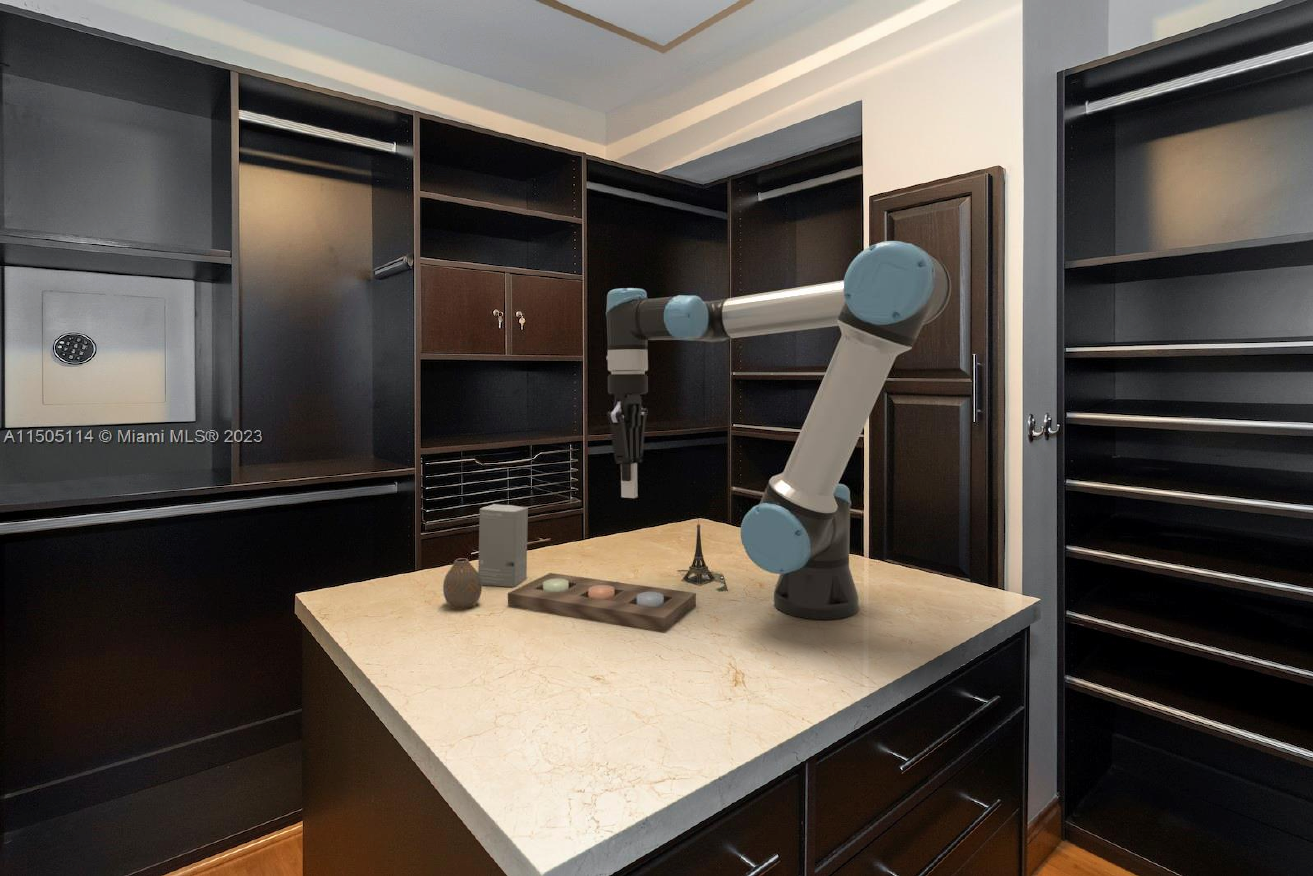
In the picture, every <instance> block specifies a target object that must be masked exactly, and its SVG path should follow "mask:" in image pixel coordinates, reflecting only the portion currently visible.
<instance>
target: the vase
mask: <svg viewBox="0 0 1313 876" xmlns="http://www.w3.org/2000/svg"><path fill="white" fill-rule="evenodd" d="M482 588H483V585H482V584H481V579H480V576H479V574H478V571H477V570H476V568H474V566H473V565H472V564H471V561H470V560H469V559H468V558H466V557H465V558H463V557H462V558H457V559H455V560H454V562H453V564H452V565H451V568H450V569H449V570H448V572H447V573H446V575H445V577H444V580H443V585H442V589H443V597H444V599H445V601H446V603H447V604H448V605H449V606H450V607H451V608H453V609H455V610H464V609H470V608H472V607H474V606H475V605H476V603H478V602H479V600H480V598H481V595H482V590H483V589H482Z"/></svg>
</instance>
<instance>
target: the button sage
mask: <svg viewBox="0 0 1313 876" xmlns="http://www.w3.org/2000/svg"><path fill="white" fill-rule="evenodd" d="M567 589H569V586H568V580H565V579H550V580H546V581H544V582H543V590H544V591H551V592H557V593H561V592H563V591H565V590H567Z"/></svg>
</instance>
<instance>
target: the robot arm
mask: <svg viewBox="0 0 1313 876" xmlns="http://www.w3.org/2000/svg"><path fill="white" fill-rule="evenodd" d="M951 294H952V281H951V276H950V273H949V271H948V269H947V268H946V266H945V264H943V262H942V261H940V259H938V258H937V257H935V256H933V255H932V254H930V253H928V252H927V251H925V250H924V249H922V247H919V246H916V245H914V244H913V243H908V242H903V241H898V240H887V241H881V242H878V243H876V244H872V245H870V246H868V247H867V248H865V249H864V250H862V251H860V253H858V254H857V256H856V257H854V259H853V260H852V261H851V262H850V264H849V266H848V268H847V270H846V272H845V275H844V277H843V280H836V281H832V282H825V283H817V284H812V285H805V286H799V287H793V288H787V289H780V290H775V291H768V292H761V293H756V294H755V293H754V294H749V295H748V294H747V295H743V296H736V297H730V298H725V299H724V298H723V299H718V300H710V301H706V300H705V301H704V300H703V299H702V297H700V296H698V295H683V294H679V295H676V296H667V297H657V298H648V296H647V295H648V293H647V291H646V290H645V289H643V288H637V287H635V288H634V287H627V288H624V287H623V288H614V289H612V290H610V291H608V293H607V295H606V312H605V317H606V333H607V348H606V350H607V355H606V357H605V358H606V361H607V371H609V372H610V374H608V376H607V393H608V394H609V395H614V400H613V402H614V403H613V408H614V409H613V410H612V411H607V414H606V415H607V416H606V417H607V419H608V422H609V428H610V434H611V442H612V449H613V457H614V458H613V459H614V462H615V464H620V479H621V480H620V486H621V487H620V491H621V492H620V495H621V496H620V497H621V498H626V499H627V498H628V499H636V498H638V463H642V462H643V457H644V456H643V454H644V445H645V443H644V442H645V431H646V422H647V416H648V413H649V410H648V408H647V407H646V408H643V405H642V403H643V402H642V396H641V395H646V394H647V393H648V391H649V384H648V383H649V381H648V380H649V376H647V375H648V374H645V373H646V372H648V370H649V360H648V359H649V358H648V355H649V353H648V341H659V340H660V341H661V340H662V341H663V340H664V341H671V340H673V341H676V340H678V341H693V342H694V341H696V342H697V341H700V342H707V343H720V342H723V341H726V340H730V339H737V338H744V337H745V338H746V337H753V336H755V337H756V336H761V335H762V336H763V335H770V334H777V333H778V334H779V333H786V332H795V331H796V332H798V331H804V330H813V329H821V328H829V327H839V330H840V332H841V336H840V339H839V341H838V343H837V345H836V348H835V350H834V353H833V355H832V357H831V360H830V362H829V364H828V366H827V370H826V371H825V374H824V377H823V378H822V380H821V384H820V385H819V388H818V390H817V393H816V395H815V397H814V399H813V401H812V404H811V406H810V409H809V412H808V414H807V416H806V419H805V420H804V423H803V425H802V427H801V429H800V432H799V434H798V437H797V439H796V441H795V443H794V447H793V448H792V451H791V452H790V453H791V454H790V455H789V458H788V459H787V462H786V465H785V468H784V470H783V472H781V473H779V474H776V475H773V476H772V477H770V479H769V480H768V483H767V485H766V488H765V490H764V492H763V495H762V497H761V499H760V502H759V504H757V505H756V504H755V505H754V506H753V507H751V509H749V510H748V512H747V513H746V514H745V515H744V517H743V519H742V522H741V524H740V525H741V526H740V540H741V544H742V545H743V548H744V550H745V553H746V555H747V557H748V558H749V559H750V560H751V561H752V563H754V564H755V565H756V566H757V567H758V568H760V569H761V570H763V571H766V572H768V573H770V574H775V575H779V576H778V579H777V581H776V584H775V587H774V591H773V605H774V607H775V608H776V609H778V610H779V611H780V612H781V613H785V614H787V615H790V616H793V617H798V618H801V619H802V618H804V619H812V620H836V619H843V618H847V617H851V616H852V615H855V614H856V613H857V612H858V611H859V594H858V591H857V588H856V584H855V582H854V578H853V575H852V572H851V569H850V534H851V533H850V531H851V529H850V528H851V506H852V501H851V491H850V488H849V487H848V486H847V485H845V484H843V483H839V482H840V480H841V479H842V476H843V474H844V472H845V470H846V467H847V466H848V462H849V460H850V458H851V456H852V454H853V452H854V450H855V447H856V446H857V443H858V440H859V438H860V437H861V434H862V433H863V430H864V428H865V426H866V423H867V421H868V419H869V417H870V415H871V413H872V410H873V408H874V406H875V404H876V401H877V399H878V397H879V395H880V393H881V390H882V388H883V386H884V384H885V382H886V379H887V378H888V375H889V373H890V371H891V369H892V367H893V365H894V362H895V360H896V358H897V356H899V355H900V354H903V353H905V352H908V351H910V350H912V349H913V346H914V344H915V343H916V340H917V337H918V336H919V334H920V332H921V329H922V327H923V326H924V325H926V324H929V323H931V322H932V321H933V320H935V319H936V318H937V317H939V316H940V315H941V313H943V311H944V310H945V308H946V306H947V305H948V303H949V300H950V297H951Z"/></svg>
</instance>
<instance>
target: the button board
mask: <svg viewBox="0 0 1313 876" xmlns="http://www.w3.org/2000/svg"><path fill="white" fill-rule="evenodd" d="M550 579H565V580H568V586H569V589H567V590H565V591H563V592H561V593H557V592H551V591H544V590H543V582H544V581H546V580H550ZM597 585H609V586H612V587H614V597H612V598H610V599H609V600H603V599H597V598H590V597H588V589H589V588H590V587H592V586H597ZM643 592H658V593H661V594H663V596H664V604H663V605H661V606H660V607H659V608H656V607H650V606H643V605H637V595H638V594H640V593H643ZM507 607H509V608H510V607H511V608H518V609H522V610H528V611H533V612H534V611H535V612H539V613H545V614H553V615H558V616H565V617H571V618H575V619H581V620H582V619H583V620H588V621H593V622H600V623H607V624H613V625H618V626H624V627H631V628H635V629H641V630H642V629H643V630H647V631H654V632H660V633H666V632H667V631H668V630H669V629H670V628H672V627H673V626H674V625H676V624H677V623H679V621H680V620H682V619H683V618H684V617H685V616H686V615H687V614H688V613H690V612H691V611H693V609H695V608H696V607H697V592H691V591H684V590H677V589H671V588H662V587H656V586H655V587H654V586H648V585H641V584H633V583H625V582H619V581H612V580H605V579H603V580H602V579H599V578H597V579H596V578H591V577H583V576H577V575H569V574H568V575H567V574H562V573H560V574H559V573H554V572H549V573H547V574H544V575H542V576H541V577H539V578H536V579H534V580H532V581H530V582H528V583H526V584H523V585H521V586H520V587H518V588H515V589H513V590H511V591H509V592H507Z"/></svg>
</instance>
